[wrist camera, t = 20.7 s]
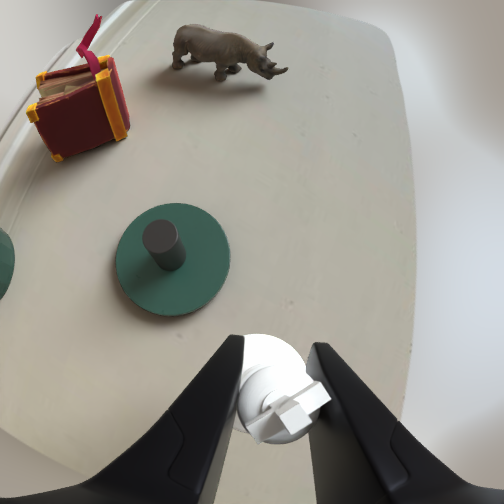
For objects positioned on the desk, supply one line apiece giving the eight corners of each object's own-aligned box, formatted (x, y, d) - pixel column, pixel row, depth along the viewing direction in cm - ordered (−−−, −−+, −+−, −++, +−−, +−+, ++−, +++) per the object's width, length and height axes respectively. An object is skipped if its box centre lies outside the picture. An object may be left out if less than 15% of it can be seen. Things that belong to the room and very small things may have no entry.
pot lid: (126, 326, 23) (101, 316, 18) (116, 220, 26) (95, 191, 21) (241, 305, 24) (243, 290, 19) (219, 200, 27) (216, 165, 22)
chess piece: (325, 397, 14) (450, 432, 5) (238, 449, 13) (247, 565, 4) (273, 315, 16) (333, 238, 6) (185, 365, 15) (106, 365, 5)
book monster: (48, 169, 27) (73, 95, 32) (128, 155, 28) (141, 81, 33) (3, 96, 17) (48, 27, 22) (99, 67, 18) (127, 7, 23)
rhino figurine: (277, 101, 31) (284, 57, 26) (166, 70, 32) (160, 30, 27) (289, 80, 33) (297, 39, 27) (184, 52, 34) (181, 14, 28)
